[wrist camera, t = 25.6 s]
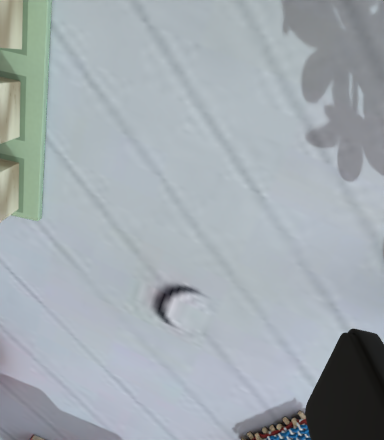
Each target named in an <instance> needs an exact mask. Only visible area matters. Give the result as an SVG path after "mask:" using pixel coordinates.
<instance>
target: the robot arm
mask: <svg viewBox="0 0 384 440" xmlns="http://www.w3.org/2000/svg"><path fill="white" fill-rule="evenodd" d="M305 416H306V422H307V426H308V430H309V434H310V438H311V440H384V344H383V342H382V341H381V339H380V337H379V336H378V335H377V334H375V333H371V332H367V331H362V330H358V329H351V330H350V331H349V332H348V333H343V334H342V335H341V336H340V338H339V340H338V342H337V344H336V346H335V348H334V350H333V352H332V354H331V356H330V358H329V360H328V362H327V364H326V366H325V368H324V370H323V372H322V374H321V376H320V378H319V380H318V382H317V384H316V386H315V388H314V390H313V392H312V394H311V396H310V398H309V400H308V402H307V405H306V411H305Z"/></svg>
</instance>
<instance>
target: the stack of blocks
mask: <svg viewBox="0 0 384 440" xmlns="http://www.w3.org/2000/svg"><path fill="white" fill-rule="evenodd" d="M31 440H45V439H43V438H40V437H38V436H35V435H33V437H32V438H31Z"/></svg>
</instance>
